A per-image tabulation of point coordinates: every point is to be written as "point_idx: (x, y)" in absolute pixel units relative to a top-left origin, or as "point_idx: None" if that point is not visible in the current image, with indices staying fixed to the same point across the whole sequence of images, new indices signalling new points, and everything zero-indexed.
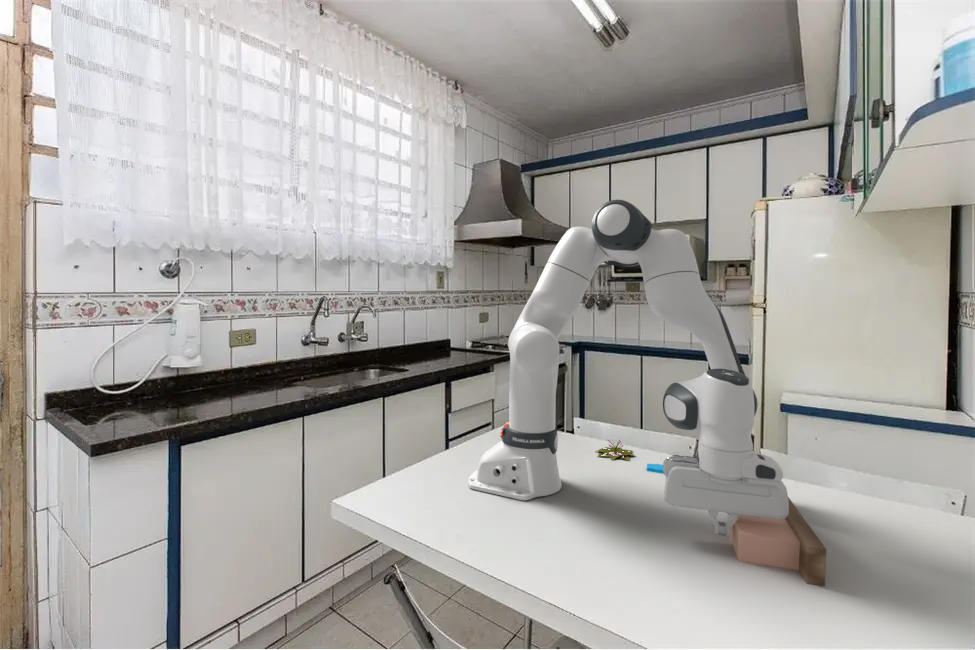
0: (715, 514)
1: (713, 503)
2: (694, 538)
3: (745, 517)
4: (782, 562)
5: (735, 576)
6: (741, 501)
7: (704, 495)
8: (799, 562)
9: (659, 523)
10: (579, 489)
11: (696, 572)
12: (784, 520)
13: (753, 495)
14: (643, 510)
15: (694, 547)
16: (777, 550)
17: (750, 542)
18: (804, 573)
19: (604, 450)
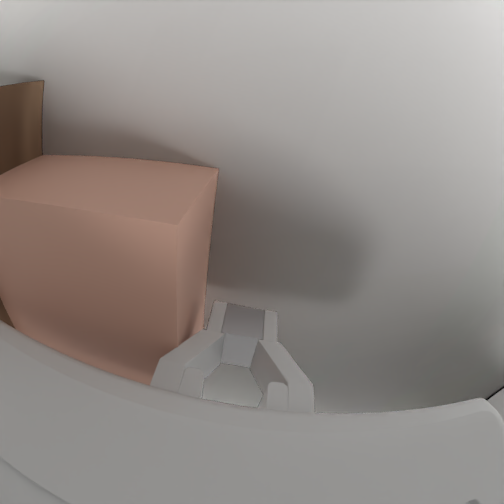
0: (282, 393)
1: (310, 461)
2: (334, 312)
3: (126, 374)
4: (64, 161)
5: (279, 41)
6: (95, 460)
7: (372, 501)
8: (22, 159)
9: (392, 365)
10: None
11: (432, 76)
12: None
13: (15, 467)
14: (390, 400)
15: (367, 255)
16: (47, 176)
17: (132, 194)
18: (28, 102)
19: None
